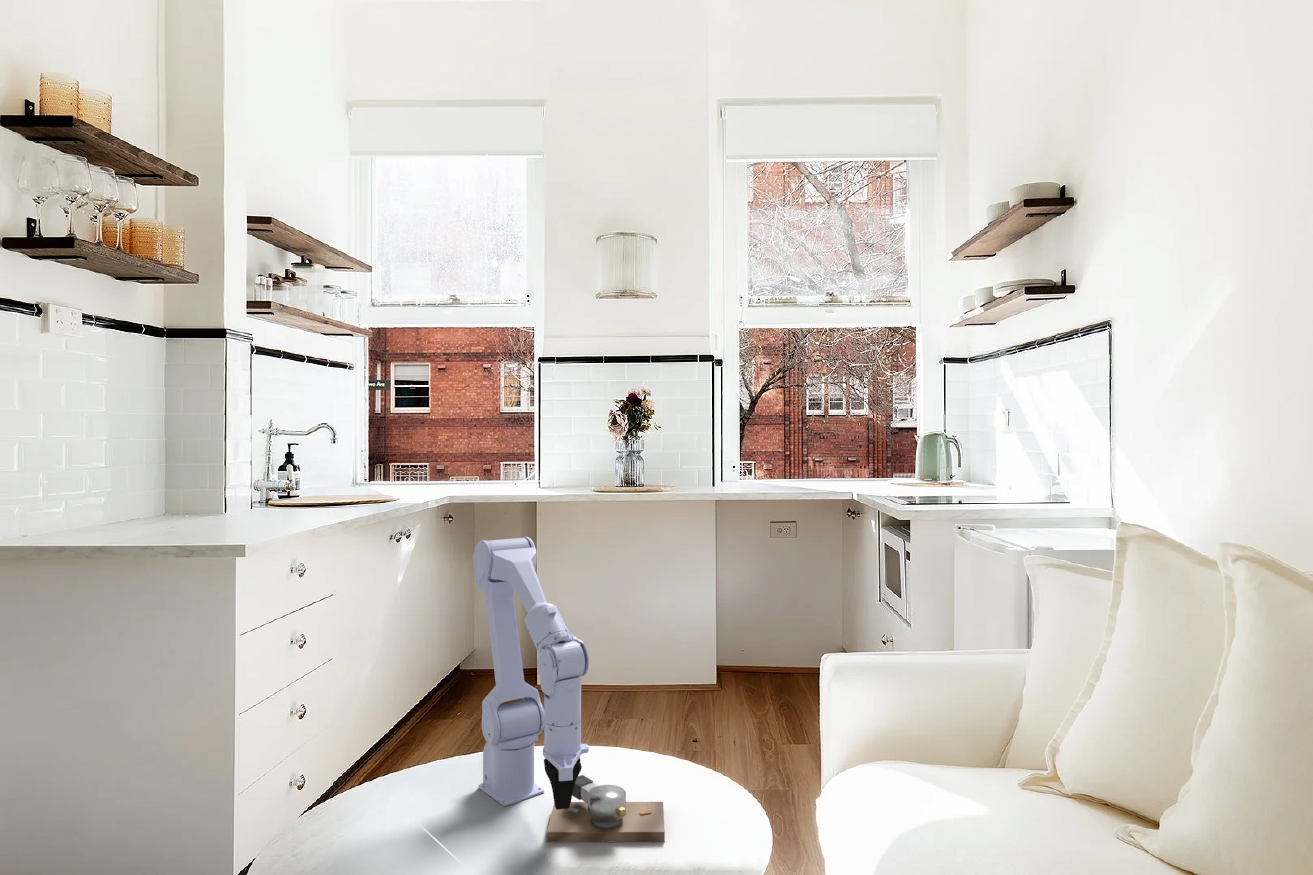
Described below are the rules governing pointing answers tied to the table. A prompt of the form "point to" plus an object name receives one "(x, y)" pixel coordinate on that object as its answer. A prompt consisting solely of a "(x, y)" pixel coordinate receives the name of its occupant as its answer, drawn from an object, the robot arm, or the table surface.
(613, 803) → the silver saucepan
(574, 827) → the mounting board
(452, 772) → the table surface
